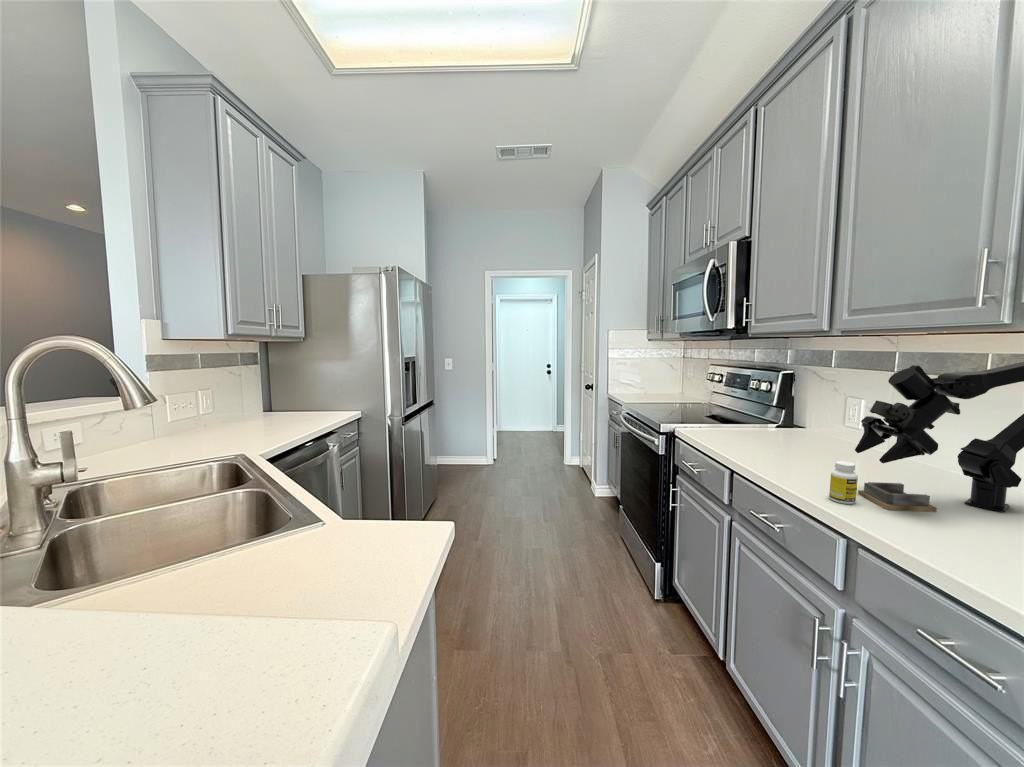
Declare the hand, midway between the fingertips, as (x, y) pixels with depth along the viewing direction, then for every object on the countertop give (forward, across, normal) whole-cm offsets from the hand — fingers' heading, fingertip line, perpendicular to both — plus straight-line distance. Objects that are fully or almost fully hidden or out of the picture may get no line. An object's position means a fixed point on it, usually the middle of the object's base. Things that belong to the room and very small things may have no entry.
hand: (868, 456), depth 108 cm
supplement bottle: (+12, 0, +5) cm, 13 cm away
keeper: (+3, 0, +13) cm, 13 cm away
